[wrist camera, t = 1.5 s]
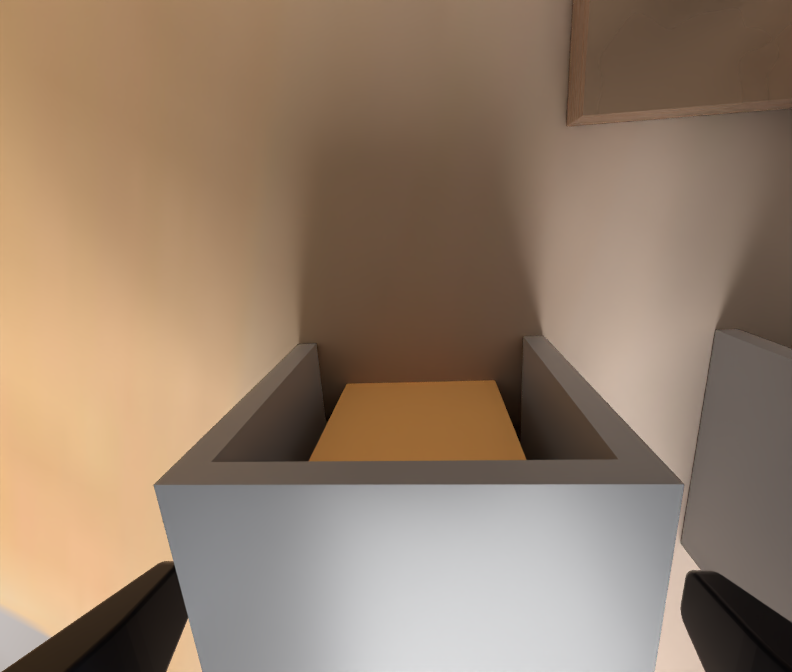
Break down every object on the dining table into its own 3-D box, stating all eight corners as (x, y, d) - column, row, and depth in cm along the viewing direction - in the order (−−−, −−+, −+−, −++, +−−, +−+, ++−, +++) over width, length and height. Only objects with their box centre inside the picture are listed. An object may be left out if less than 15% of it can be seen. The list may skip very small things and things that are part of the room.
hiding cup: (534, 542, 12) (628, 834, 6) (324, 539, 13) (237, 804, 7) (543, 335, 10) (684, 484, 5) (298, 343, 11) (153, 484, 5)
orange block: (493, 505, 12) (522, 640, 8) (359, 504, 12) (328, 634, 9) (494, 378, 11) (528, 466, 7) (347, 382, 11) (305, 467, 7)
